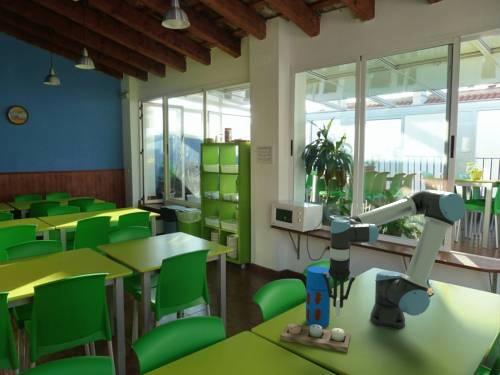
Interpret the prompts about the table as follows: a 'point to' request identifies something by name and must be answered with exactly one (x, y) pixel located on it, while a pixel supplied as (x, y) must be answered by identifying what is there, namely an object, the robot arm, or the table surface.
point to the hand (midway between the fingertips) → (337, 314)
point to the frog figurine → (430, 289)
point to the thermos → (317, 297)
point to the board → (316, 339)
